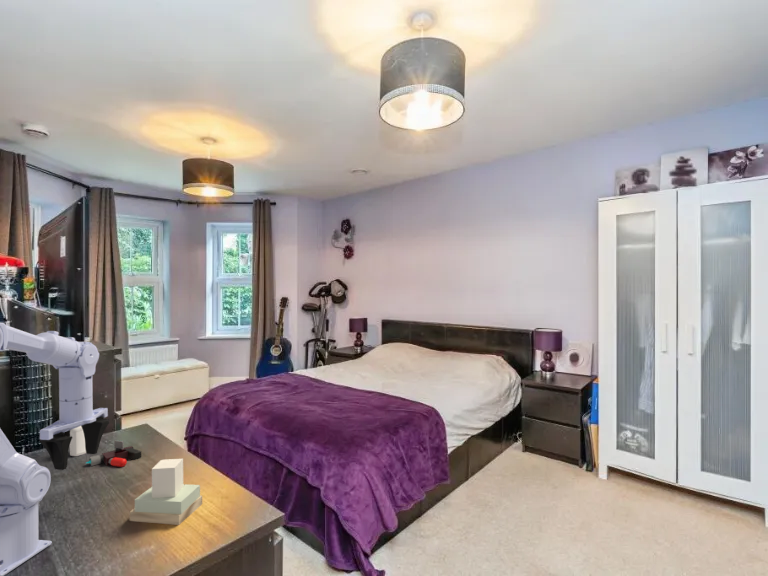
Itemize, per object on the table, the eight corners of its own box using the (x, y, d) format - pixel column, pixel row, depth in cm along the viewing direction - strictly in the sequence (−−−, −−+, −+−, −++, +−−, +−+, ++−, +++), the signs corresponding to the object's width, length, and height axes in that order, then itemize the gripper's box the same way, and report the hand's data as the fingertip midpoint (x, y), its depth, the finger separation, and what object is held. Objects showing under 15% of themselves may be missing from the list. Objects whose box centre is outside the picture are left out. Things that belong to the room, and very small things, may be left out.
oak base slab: (179, 528, 81) (179, 515, 81) (129, 523, 83) (129, 511, 83) (202, 506, 89) (202, 495, 89) (156, 503, 91) (156, 492, 91)
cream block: (175, 496, 84) (174, 467, 84) (152, 498, 84) (151, 469, 84) (183, 486, 89) (183, 458, 88) (161, 487, 88) (161, 459, 88)
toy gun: (83, 466, 109) (83, 448, 109) (133, 452, 118) (133, 435, 118) (92, 477, 103) (92, 458, 103) (145, 462, 112) (145, 444, 112)
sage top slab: (181, 514, 82) (181, 501, 82) (134, 511, 83) (134, 499, 83) (199, 496, 89) (199, 485, 89) (156, 494, 90) (156, 483, 90)
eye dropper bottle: (95, 451, 118) (95, 410, 118) (71, 458, 114) (71, 415, 114) (91, 447, 121) (91, 407, 121) (67, 453, 117) (67, 411, 117)
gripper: (61, 408, 79) (62, 477, 80) (119, 389, 94) (119, 448, 94) (30, 407, 80) (30, 475, 81) (91, 388, 95) (92, 446, 95)
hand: (76, 460), depth 87 cm, fingers open, 7 cm apart
